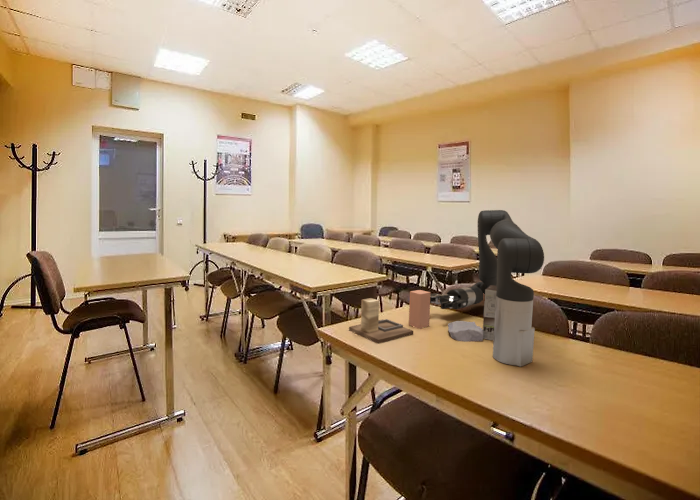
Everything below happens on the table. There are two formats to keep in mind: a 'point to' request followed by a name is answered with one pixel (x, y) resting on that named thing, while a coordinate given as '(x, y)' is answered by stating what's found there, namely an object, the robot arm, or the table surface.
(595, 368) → the table surface
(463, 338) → the stone block
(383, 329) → the slot frame
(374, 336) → the brown board
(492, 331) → the coffee box
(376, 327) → the birch column
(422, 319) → the terracotta pillar
